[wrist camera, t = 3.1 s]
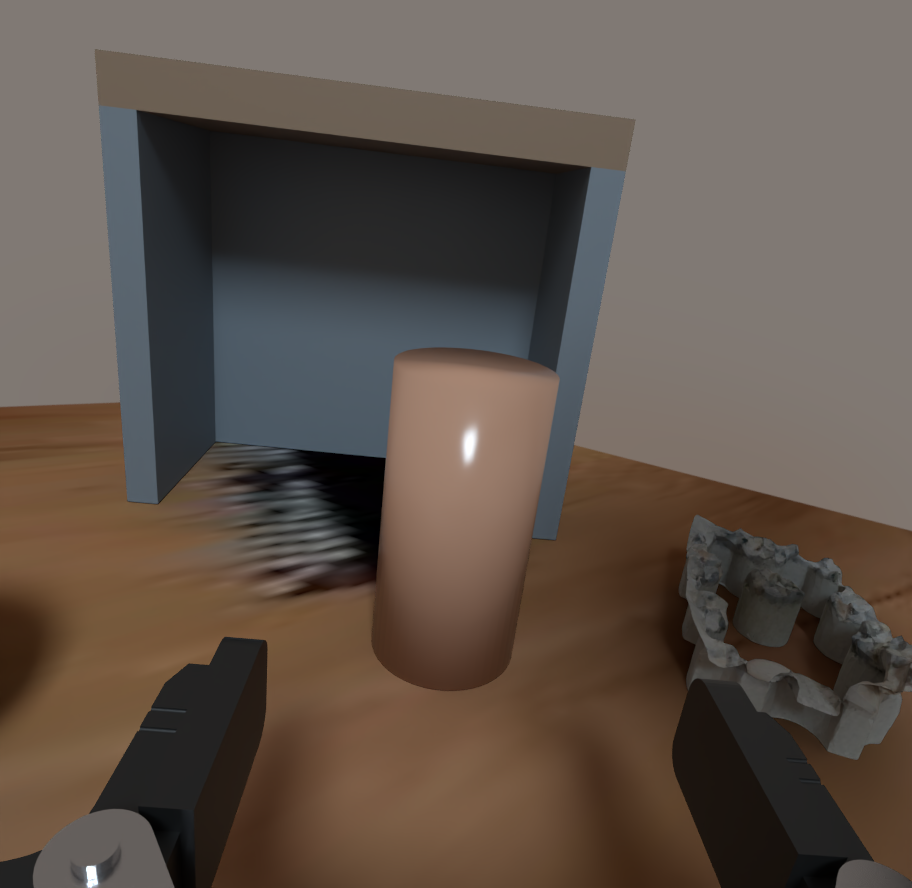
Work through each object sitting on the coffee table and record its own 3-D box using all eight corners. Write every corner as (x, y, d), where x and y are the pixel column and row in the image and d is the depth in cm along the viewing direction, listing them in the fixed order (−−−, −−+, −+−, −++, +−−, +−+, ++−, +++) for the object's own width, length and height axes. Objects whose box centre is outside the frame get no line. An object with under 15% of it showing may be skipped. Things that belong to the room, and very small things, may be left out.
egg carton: (899, 789, 21) (947, 691, 20) (665, 714, 23) (693, 619, 22) (835, 614, 31) (865, 539, 29) (673, 571, 33) (693, 499, 32)
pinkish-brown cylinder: (505, 605, 28) (546, 357, 24) (519, 696, 23) (573, 399, 19) (378, 594, 28) (399, 341, 24) (364, 684, 23) (387, 380, 19)
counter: (531, 466, 43) (586, 139, 36) (555, 540, 34) (635, 119, 27) (197, 433, 42) (187, 88, 35) (127, 501, 33) (94, 49, 26)
